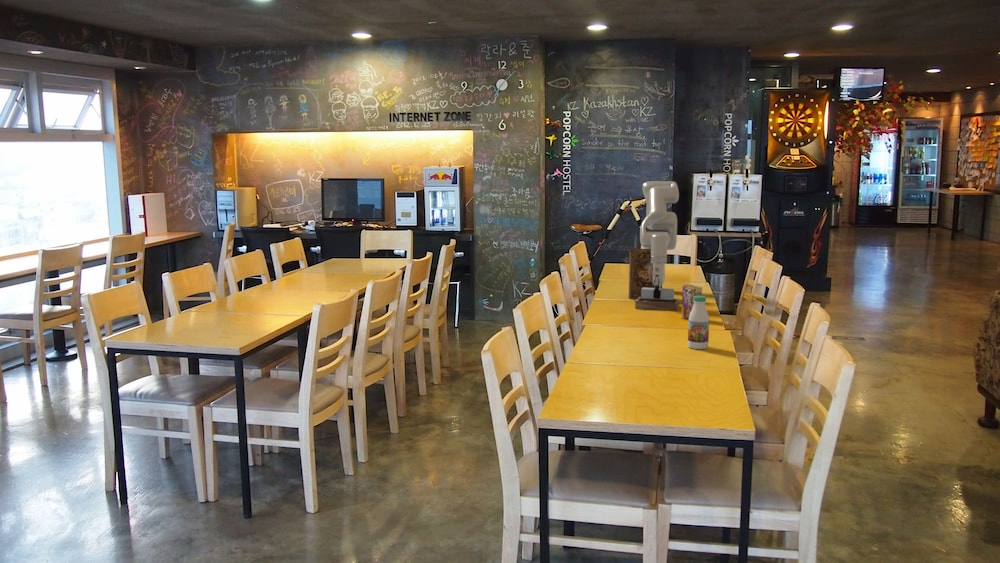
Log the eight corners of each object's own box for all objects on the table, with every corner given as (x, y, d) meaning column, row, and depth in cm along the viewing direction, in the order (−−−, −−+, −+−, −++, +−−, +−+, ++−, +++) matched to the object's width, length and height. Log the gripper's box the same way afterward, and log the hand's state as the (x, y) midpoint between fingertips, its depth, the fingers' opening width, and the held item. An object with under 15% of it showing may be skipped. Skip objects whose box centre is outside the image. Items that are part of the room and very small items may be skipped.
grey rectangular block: (673, 298, 380) (674, 288, 379) (673, 299, 375) (673, 290, 375) (642, 296, 384) (642, 287, 384) (641, 298, 380) (641, 289, 379)
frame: (638, 303, 389) (638, 296, 389) (678, 305, 384) (679, 298, 383) (635, 308, 378) (635, 301, 377) (676, 311, 372) (676, 303, 371)
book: (628, 299, 401) (630, 250, 397) (628, 297, 406) (629, 248, 402) (661, 299, 399) (663, 250, 395) (660, 297, 405) (662, 249, 401)
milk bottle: (684, 345, 309) (686, 294, 305) (704, 344, 309) (706, 294, 306) (691, 350, 301) (693, 298, 298) (711, 349, 302) (713, 298, 298)
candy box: (701, 321, 351) (702, 287, 348) (693, 322, 349) (695, 287, 346) (688, 317, 359) (689, 283, 356) (680, 318, 357) (682, 284, 354)
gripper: (664, 262, 368) (663, 301, 371) (668, 257, 384) (667, 294, 387) (648, 261, 370) (647, 300, 373) (652, 257, 386) (651, 293, 389)
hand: (657, 296), depth 380 cm, fingers closed on grey rectangular block, 5 cm apart
